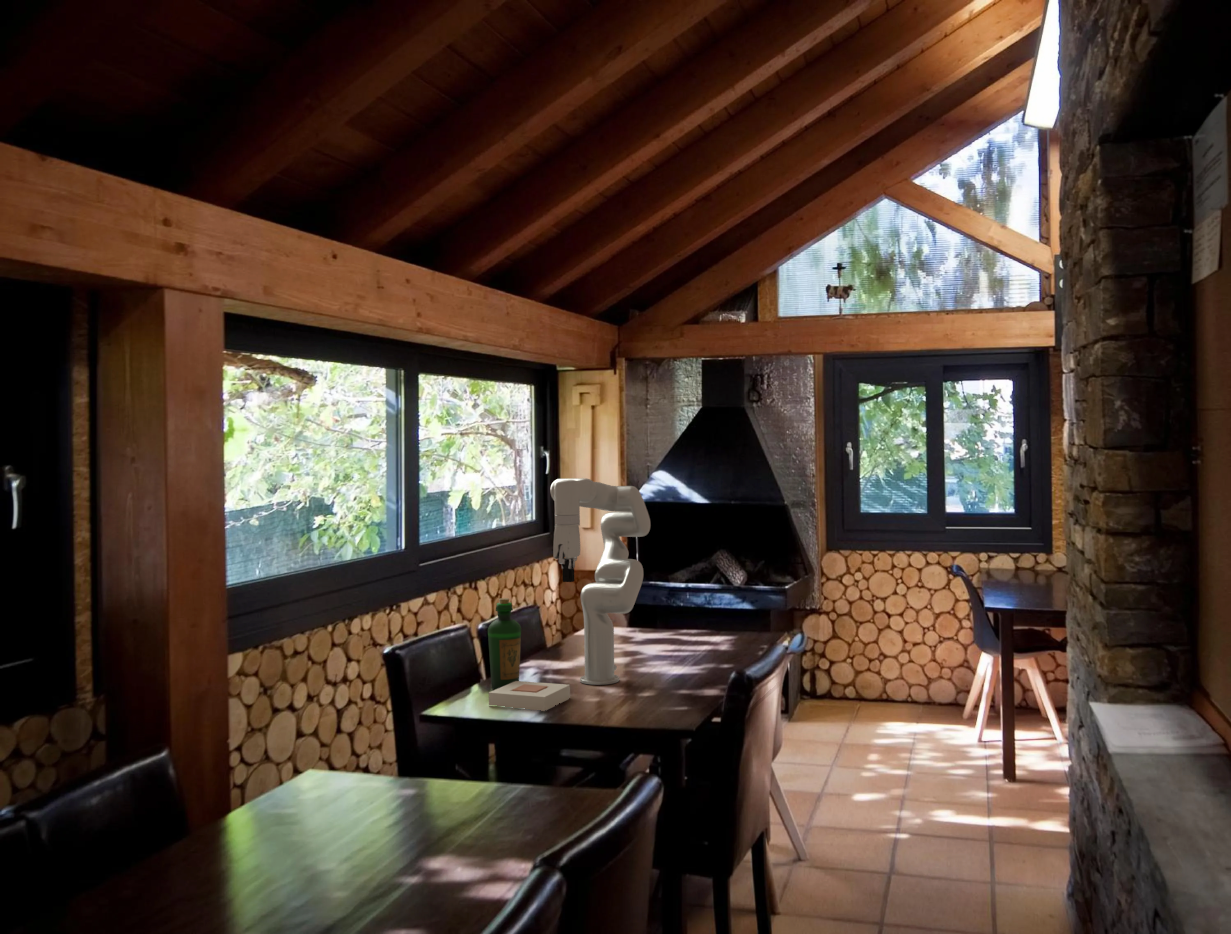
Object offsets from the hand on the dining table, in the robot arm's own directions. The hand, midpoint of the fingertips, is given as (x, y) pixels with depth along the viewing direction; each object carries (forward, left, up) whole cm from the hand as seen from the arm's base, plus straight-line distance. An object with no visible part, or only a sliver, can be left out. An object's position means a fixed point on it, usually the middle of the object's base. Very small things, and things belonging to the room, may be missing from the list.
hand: (568, 581), depth 308 cm
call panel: (+11, -8, -34) cm, 37 cm away
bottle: (-3, -24, -35) cm, 42 cm away
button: (+11, -8, -34) cm, 37 cm away
